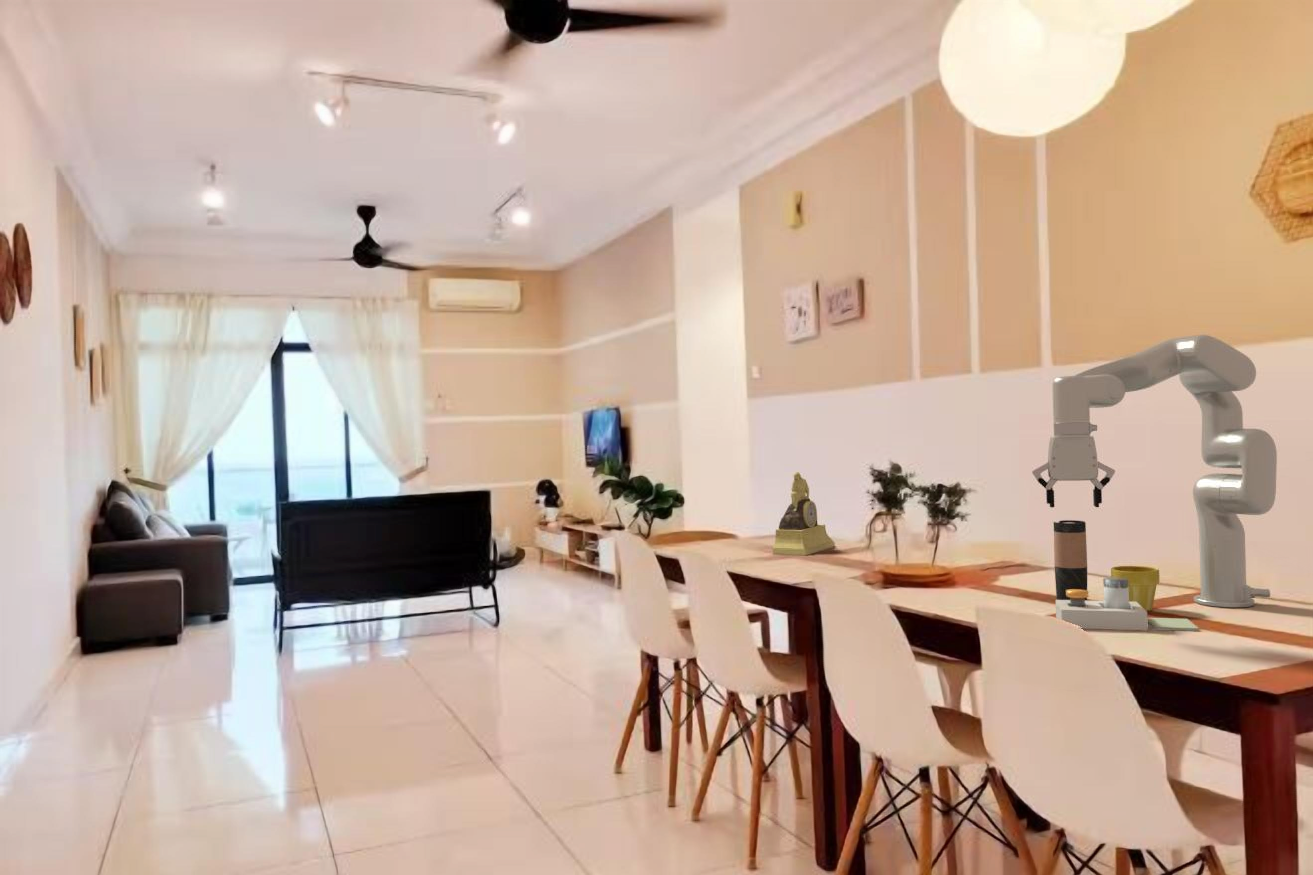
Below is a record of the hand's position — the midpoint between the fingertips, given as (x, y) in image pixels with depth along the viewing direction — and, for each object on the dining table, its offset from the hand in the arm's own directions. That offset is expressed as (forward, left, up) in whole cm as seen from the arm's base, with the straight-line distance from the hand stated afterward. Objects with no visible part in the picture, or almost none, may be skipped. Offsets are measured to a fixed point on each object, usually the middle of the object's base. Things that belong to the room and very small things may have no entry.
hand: (1074, 506), depth 207 cm
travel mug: (-2, -28, -26) cm, 39 cm away
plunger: (0, 0, -23) cm, 23 cm away
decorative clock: (+80, -120, -27) cm, 147 cm away
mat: (-19, 0, -26) cm, 32 cm away
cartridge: (-8, 0, -26) cm, 27 cm away
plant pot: (-15, -18, -26) cm, 36 cm away
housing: (-5, 0, -26) cm, 27 cm away
